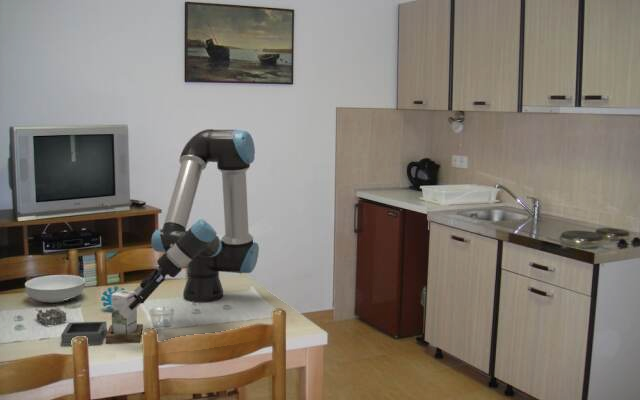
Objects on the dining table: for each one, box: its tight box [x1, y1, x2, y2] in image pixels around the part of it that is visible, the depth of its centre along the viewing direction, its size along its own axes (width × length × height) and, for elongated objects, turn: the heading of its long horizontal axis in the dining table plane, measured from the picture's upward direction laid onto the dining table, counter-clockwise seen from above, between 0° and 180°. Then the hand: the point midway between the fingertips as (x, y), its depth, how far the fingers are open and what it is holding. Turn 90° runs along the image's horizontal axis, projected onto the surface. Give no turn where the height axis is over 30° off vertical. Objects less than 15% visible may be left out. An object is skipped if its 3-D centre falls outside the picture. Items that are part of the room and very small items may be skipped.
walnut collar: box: [105, 323, 144, 344], centre depth 207 cm, size 10×10×2 cm
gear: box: [101, 285, 126, 312], centre depth 237 cm, size 11×6×10 cm
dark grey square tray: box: [60, 320, 108, 347], centre depth 205 cm, size 12×12×4 cm
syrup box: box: [110, 289, 138, 334], centre depth 206 cm, size 6×6×14 cm
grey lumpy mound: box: [35, 307, 67, 326], centre depth 221 cm, size 11×8×4 cm
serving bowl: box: [24, 274, 86, 304], centre depth 245 cm, size 21×21×7 cm
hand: (124, 308), depth 205 cm, fingers open, 13 cm apart
